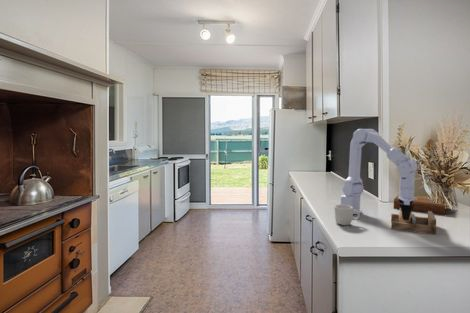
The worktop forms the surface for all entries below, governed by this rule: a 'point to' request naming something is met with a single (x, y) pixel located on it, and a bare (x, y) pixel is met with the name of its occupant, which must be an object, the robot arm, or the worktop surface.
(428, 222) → the brown wooden frame
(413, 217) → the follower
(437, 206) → the brown wooden flat block
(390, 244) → the worktop surface
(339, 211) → the cup
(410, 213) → the jar
